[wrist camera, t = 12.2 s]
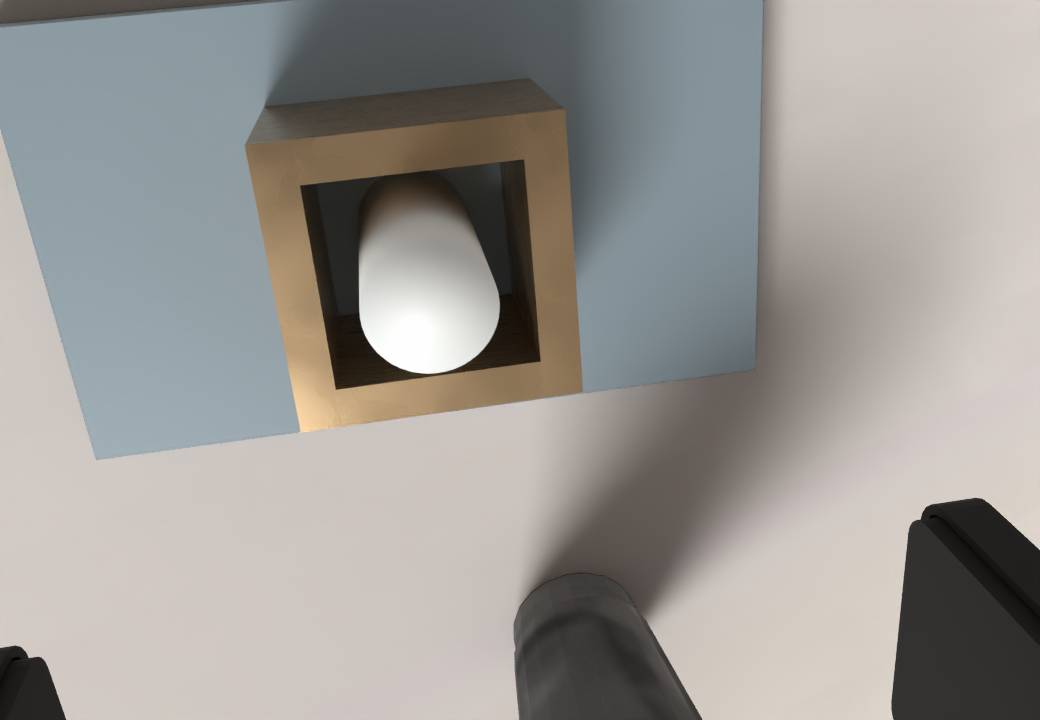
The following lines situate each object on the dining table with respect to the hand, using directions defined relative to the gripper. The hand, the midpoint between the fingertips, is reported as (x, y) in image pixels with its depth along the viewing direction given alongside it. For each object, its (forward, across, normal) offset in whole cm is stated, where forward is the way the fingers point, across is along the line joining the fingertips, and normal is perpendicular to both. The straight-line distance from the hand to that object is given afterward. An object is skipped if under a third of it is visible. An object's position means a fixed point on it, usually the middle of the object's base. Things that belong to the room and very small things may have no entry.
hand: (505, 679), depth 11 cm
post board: (+20, 0, 0) cm, 20 cm away
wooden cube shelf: (+19, 0, 0) cm, 19 cm away
